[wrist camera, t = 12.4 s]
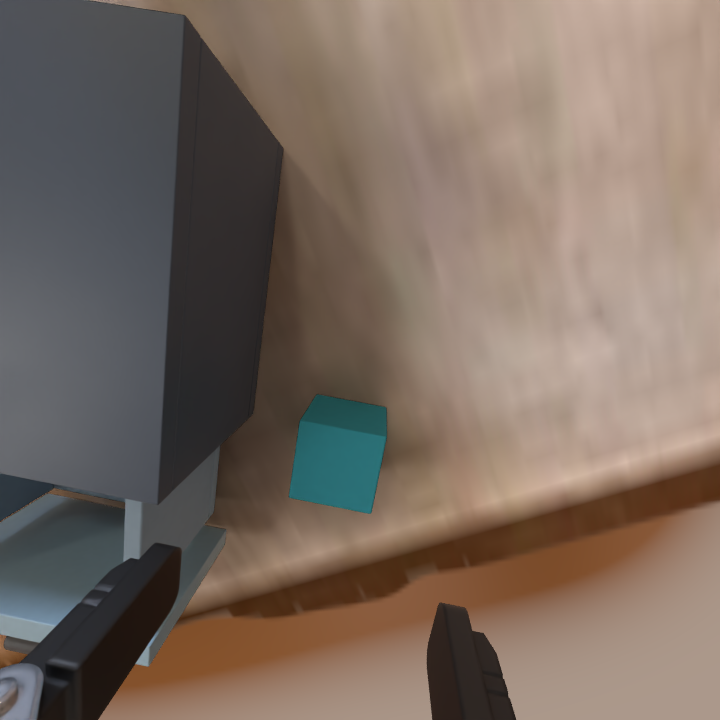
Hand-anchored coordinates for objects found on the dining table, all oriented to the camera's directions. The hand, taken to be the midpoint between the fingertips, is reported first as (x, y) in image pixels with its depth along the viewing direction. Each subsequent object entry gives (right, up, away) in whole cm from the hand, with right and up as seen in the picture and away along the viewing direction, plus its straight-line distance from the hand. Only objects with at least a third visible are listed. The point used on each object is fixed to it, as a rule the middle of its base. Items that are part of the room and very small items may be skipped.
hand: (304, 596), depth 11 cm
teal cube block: (+1, +3, +12) cm, 12 cm away
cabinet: (-11, +13, +11) cm, 20 cm away
